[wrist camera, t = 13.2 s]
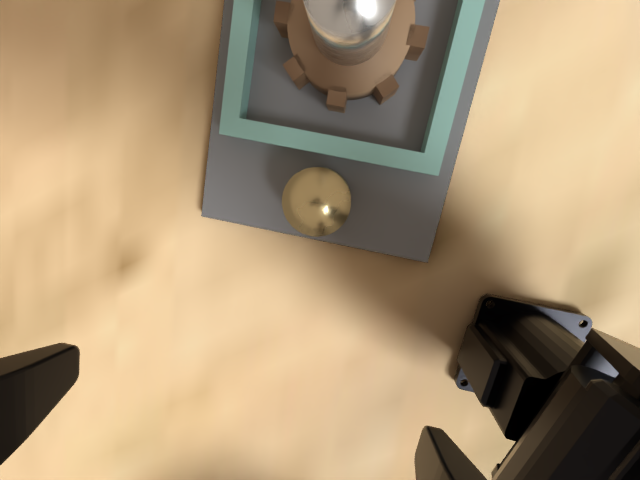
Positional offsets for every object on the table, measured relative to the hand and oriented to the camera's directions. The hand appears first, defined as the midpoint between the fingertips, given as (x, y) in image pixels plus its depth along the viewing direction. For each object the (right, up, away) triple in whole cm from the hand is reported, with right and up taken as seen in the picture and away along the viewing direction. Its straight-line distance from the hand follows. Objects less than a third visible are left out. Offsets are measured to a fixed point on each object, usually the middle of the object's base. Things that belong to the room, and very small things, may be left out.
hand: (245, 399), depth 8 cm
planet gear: (+4, +15, +9) cm, 18 cm away
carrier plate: (+3, +13, +10) cm, 17 cm away
